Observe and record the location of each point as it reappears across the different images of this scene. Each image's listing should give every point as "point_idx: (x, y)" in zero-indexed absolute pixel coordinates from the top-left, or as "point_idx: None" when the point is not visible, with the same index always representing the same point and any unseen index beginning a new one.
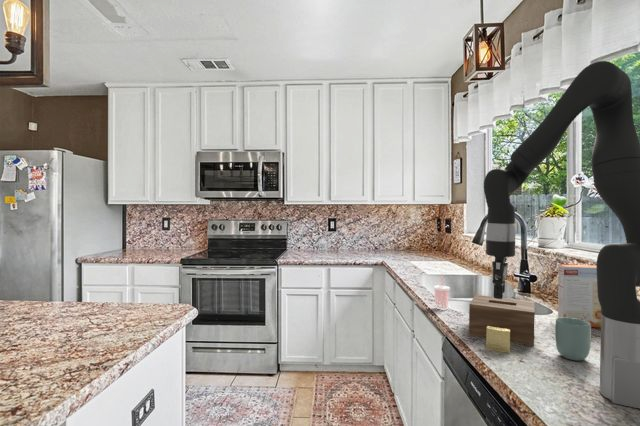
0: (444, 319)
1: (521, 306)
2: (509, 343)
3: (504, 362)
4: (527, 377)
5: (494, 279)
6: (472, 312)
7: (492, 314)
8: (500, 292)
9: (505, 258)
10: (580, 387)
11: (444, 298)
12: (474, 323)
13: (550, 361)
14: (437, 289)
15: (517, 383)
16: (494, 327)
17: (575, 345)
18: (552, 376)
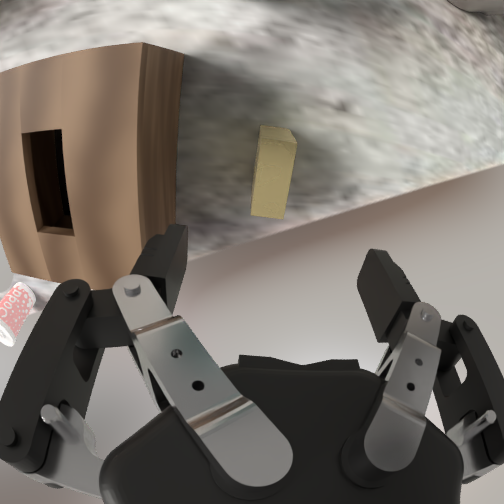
0: None
1: (62, 106)
2: (292, 135)
3: (367, 154)
4: (437, 122)
5: (455, 371)
6: None
7: (150, 206)
8: (407, 282)
9: (28, 459)
10: (448, 30)
11: (16, 309)
12: None
13: (312, 28)
14: (15, 338)
15: (464, 152)
16: (260, 192)
17: None
18: (416, 61)
